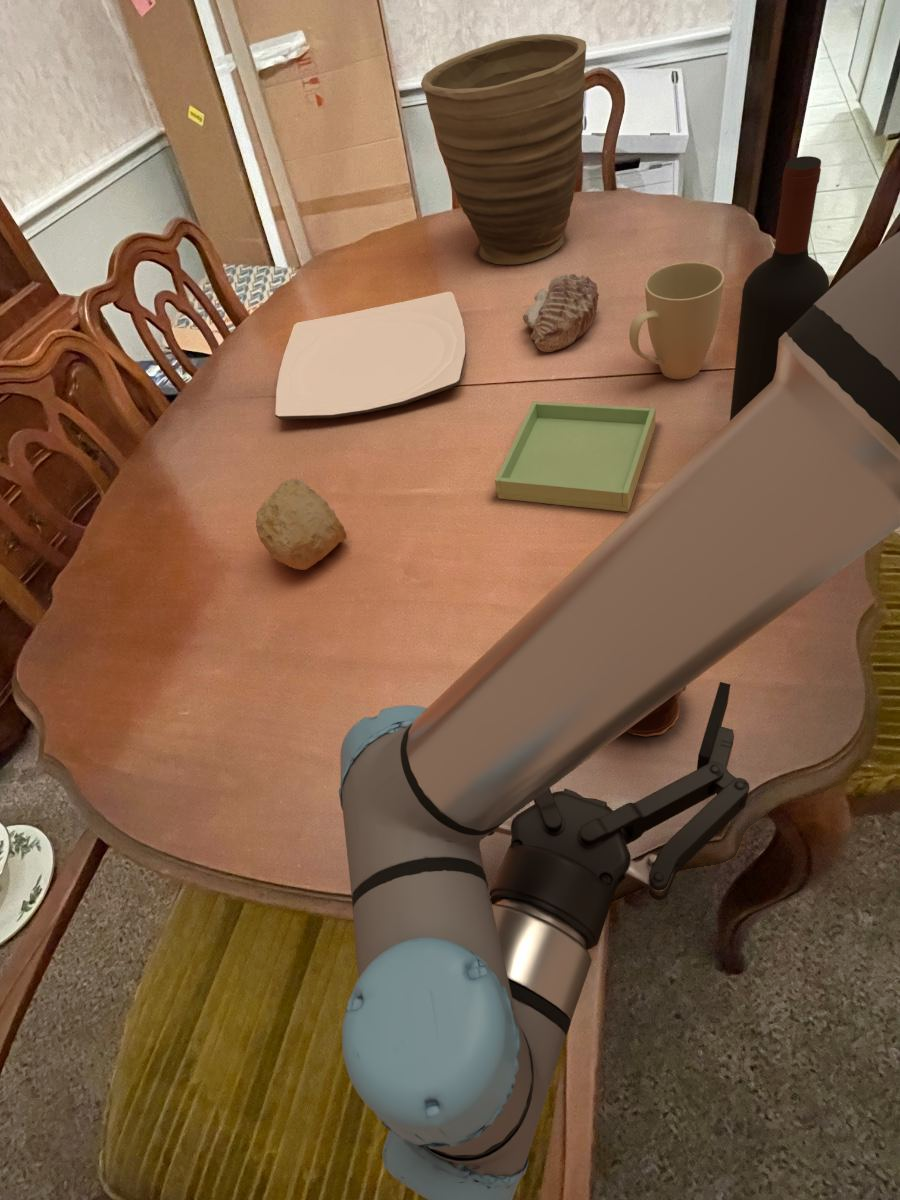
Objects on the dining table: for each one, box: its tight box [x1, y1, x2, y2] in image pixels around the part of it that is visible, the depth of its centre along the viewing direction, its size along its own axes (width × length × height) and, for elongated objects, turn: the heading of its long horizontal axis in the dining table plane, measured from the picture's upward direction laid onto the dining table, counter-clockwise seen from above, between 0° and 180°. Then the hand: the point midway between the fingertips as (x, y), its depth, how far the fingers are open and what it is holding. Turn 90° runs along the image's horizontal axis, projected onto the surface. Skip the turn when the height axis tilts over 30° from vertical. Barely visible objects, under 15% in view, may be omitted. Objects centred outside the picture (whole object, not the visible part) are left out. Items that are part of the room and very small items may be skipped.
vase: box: [420, 33, 587, 266], centre depth 120 cm, size 24×24×30 cm
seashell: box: [522, 273, 600, 353], centre depth 107 cm, size 14×9×10 cm
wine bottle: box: [729, 155, 830, 421], centre depth 74 cm, size 8×8×30 cm
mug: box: [628, 261, 725, 380], centre depth 93 cm, size 11×10×12 cm
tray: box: [494, 401, 657, 513], centre depth 89 cm, size 15×15×3 cm
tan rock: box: [255, 477, 347, 571], centre depth 85 cm, size 10×10×10 cm
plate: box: [275, 291, 467, 420], centre depth 112 cm, size 29×29×3 cm
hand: (635, 670), depth 60 cm, fingers open, 13 cm apart
